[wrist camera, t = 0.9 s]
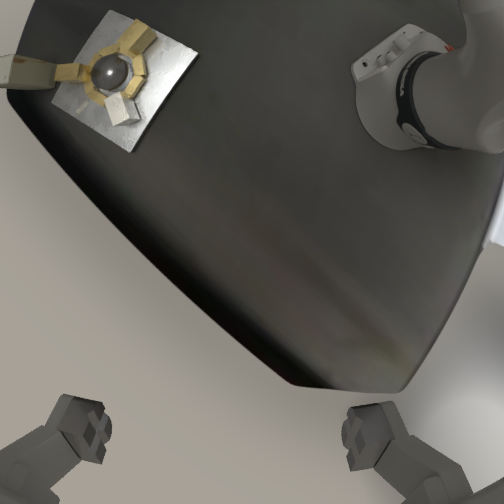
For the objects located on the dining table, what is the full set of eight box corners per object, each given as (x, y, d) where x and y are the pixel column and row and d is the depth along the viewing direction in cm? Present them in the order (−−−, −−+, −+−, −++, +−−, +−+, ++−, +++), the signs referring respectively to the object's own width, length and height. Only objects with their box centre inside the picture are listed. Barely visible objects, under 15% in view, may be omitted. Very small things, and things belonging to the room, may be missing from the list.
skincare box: (60, 64, 35) (16, 52, 24) (55, 89, 37) (9, 83, 26) (32, 66, 35) (-13, 58, 23) (27, 90, 36) (-19, 87, 25)
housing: (113, 12, 33) (100, 1, 28) (199, 55, 37) (193, 46, 32) (56, 102, 38) (38, 101, 33) (133, 152, 42) (120, 154, 37)
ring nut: (110, 12, 32) (98, 2, 27) (188, 50, 35) (182, 41, 31) (61, 87, 35) (45, 85, 31) (132, 131, 39) (121, 131, 35)
